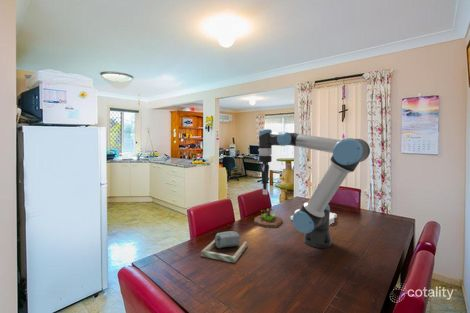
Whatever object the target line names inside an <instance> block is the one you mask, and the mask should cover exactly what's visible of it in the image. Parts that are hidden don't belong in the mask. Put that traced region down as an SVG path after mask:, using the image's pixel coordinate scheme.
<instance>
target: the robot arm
mask: <svg viewBox="0 0 470 313" xmlns="http://www.w3.org/2000/svg"><path fill="white" fill-rule="evenodd" d="M258 144H259V145H258V150H257V151H258V155H259V156H258V162H259V163H262V164H261V167H260V169H261V170H260V171H261V184H262V195H266V196H267V195H268V190H269V188H268V184H269V183H270V182H269V176H270V175H269V172H270V164H269V163H271V162H272V159H273V157H272V154H273V152H272V151H273V150H272V149H273V147H272V146H281V147H285V146H293V147H299V148H304V149H308V150H313V151H319V152H326V153H329V154H330V153H331V154H332V155H331V158H330V165H329V167H328V168H327V171H326V172H325V173H324V175H323V177H322V178H321V180H320V182H319V183H318V185H317V187H315V188H316V189H315V190H314V191H313V193H312V195H311V197H310V198H309V200H308V201H305V202H303V204H302V206H301V207H300V208H299V209H300V210H299V211H297V212H296V213H295V212H294V213H293V215H292V216H293V220H292V223H293V226H294V227H295V229H296V230H297V232H300V233H302V234H304V236H303V242H304V243H305V244H306V245H308V246H311V247H313V248H319V249H327V248H330V247H332V242H333V240H332V237H331V232H330V231H329V230H330V225H329V217H330V212H331V208H330V204H329V203H330V202H331V200H332V199H333V197H334V196H335V194H336V193H337V191H338V190H339V188H340V186H341V185H342V184H343V182H344V180H345V179H346V177H347V175H349V173H353V172H354V171H355V170H356V168H357V167H358V165H359V164H360V163H362V162H364V161H366V160H367V159H368V158H369V156H370V153H371V149H370V145H369V143H368V142H367V141H365V140H364V139H361V138H353V137H352V138H351V137H349V138H343V139H336V138H330V137H329V138H328V137H321V136H316V135H307V134H303V133H296V132H285V131H281V132H279V131H278V132H272V129H269V128H268V129H263V128H262V129H259V133H258Z"/></svg>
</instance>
